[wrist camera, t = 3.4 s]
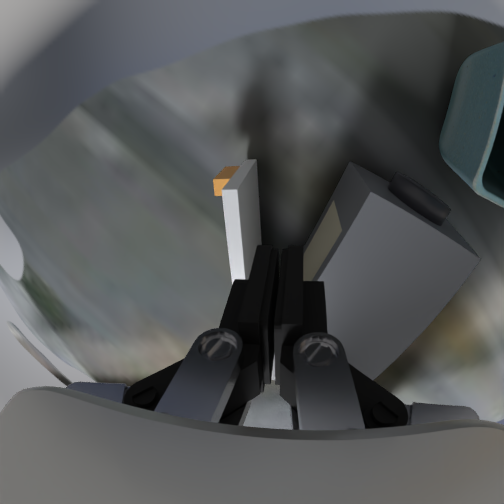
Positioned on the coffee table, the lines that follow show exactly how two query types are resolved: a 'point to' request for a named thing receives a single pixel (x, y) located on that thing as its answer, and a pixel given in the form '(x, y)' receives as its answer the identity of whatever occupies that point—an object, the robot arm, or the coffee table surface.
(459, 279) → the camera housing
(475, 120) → the flower pot
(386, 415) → the robot arm
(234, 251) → the side door
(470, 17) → the coffee table surface
